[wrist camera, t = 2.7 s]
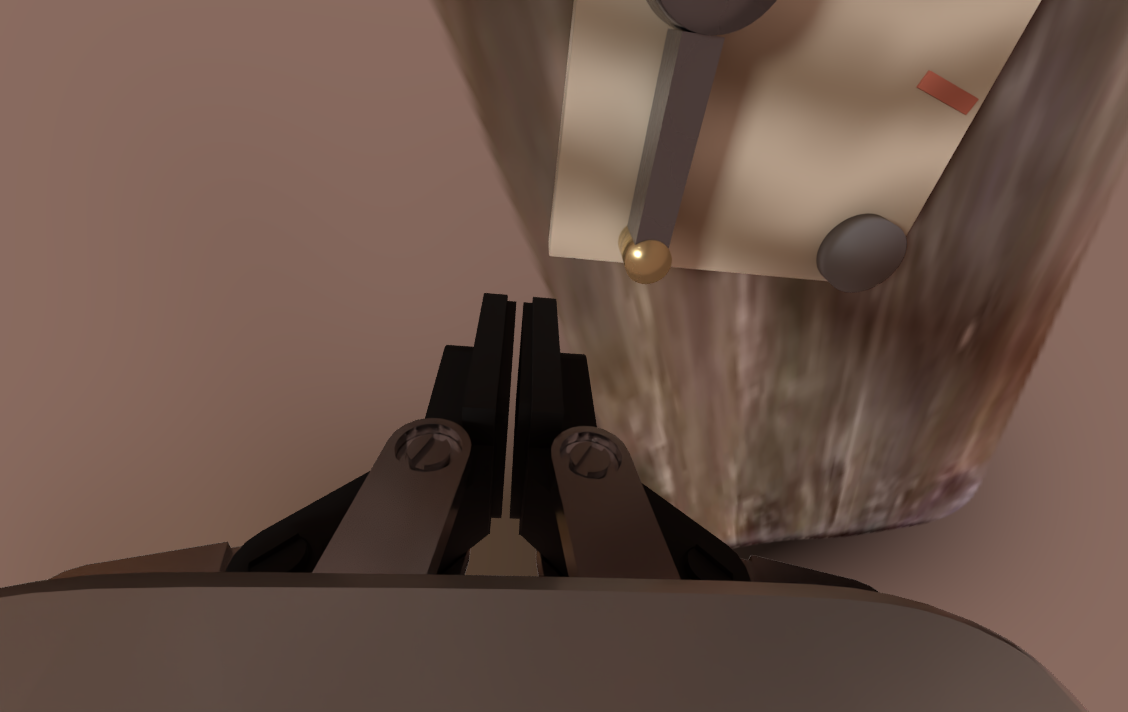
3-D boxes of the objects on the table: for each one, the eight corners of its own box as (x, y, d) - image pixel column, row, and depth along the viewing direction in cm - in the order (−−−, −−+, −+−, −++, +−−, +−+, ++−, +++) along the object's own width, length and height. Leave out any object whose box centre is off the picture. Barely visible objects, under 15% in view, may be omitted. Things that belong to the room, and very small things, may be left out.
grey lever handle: (653, -157, 16) (674, -185, 14) (792, -131, 17) (835, -153, 14) (587, 254, 25) (593, 281, 23) (679, 263, 26) (694, 290, 23)
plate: (610, -353, 15) (627, -430, 12) (1127, -232, 17) (1237, -276, 14) (548, 240, 27) (549, 266, 24) (858, 270, 29) (891, 297, 26)
